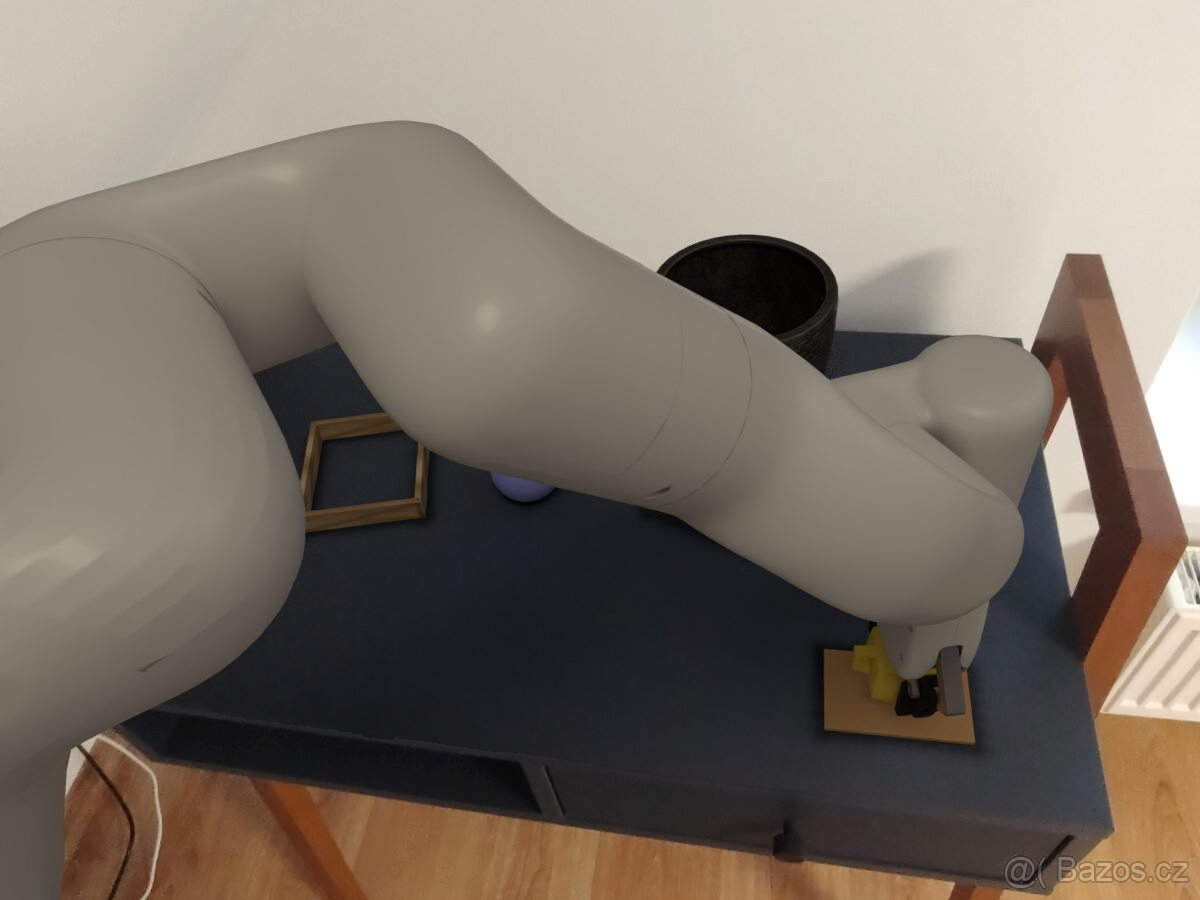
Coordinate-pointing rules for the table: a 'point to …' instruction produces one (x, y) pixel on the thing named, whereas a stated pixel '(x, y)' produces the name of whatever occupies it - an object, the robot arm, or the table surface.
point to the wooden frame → (365, 511)
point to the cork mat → (883, 708)
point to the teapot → (878, 668)
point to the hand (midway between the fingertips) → (902, 668)
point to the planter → (765, 288)
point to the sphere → (520, 488)
